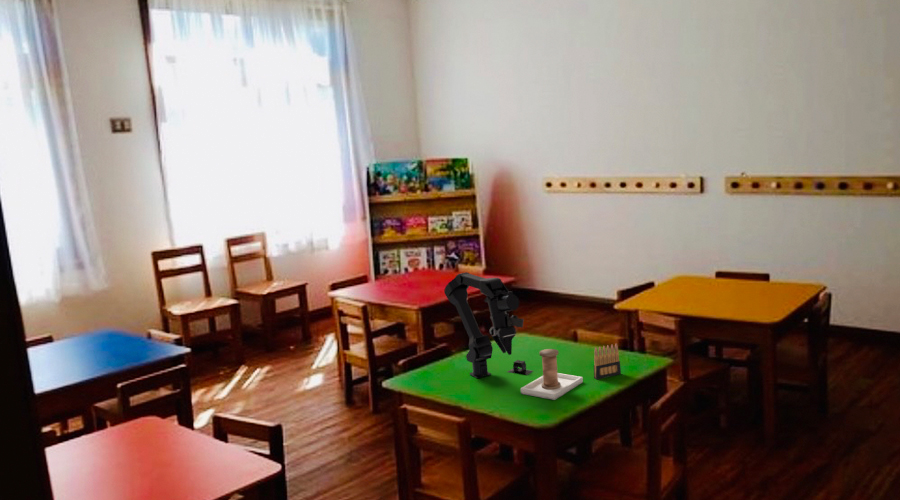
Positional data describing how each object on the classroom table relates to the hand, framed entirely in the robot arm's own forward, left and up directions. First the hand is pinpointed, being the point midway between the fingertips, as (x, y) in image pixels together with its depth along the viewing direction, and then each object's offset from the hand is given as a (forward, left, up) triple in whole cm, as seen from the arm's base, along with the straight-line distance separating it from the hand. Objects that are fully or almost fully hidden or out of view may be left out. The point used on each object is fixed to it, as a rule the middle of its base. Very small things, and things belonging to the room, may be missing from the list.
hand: (507, 353), depth 265 cm
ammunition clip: (+15, +34, -13) cm, 39 cm away
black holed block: (-11, +12, -13) cm, 21 cm away
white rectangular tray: (+12, +11, -12) cm, 20 cm away
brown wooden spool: (+12, +10, -12) cm, 20 cm away
